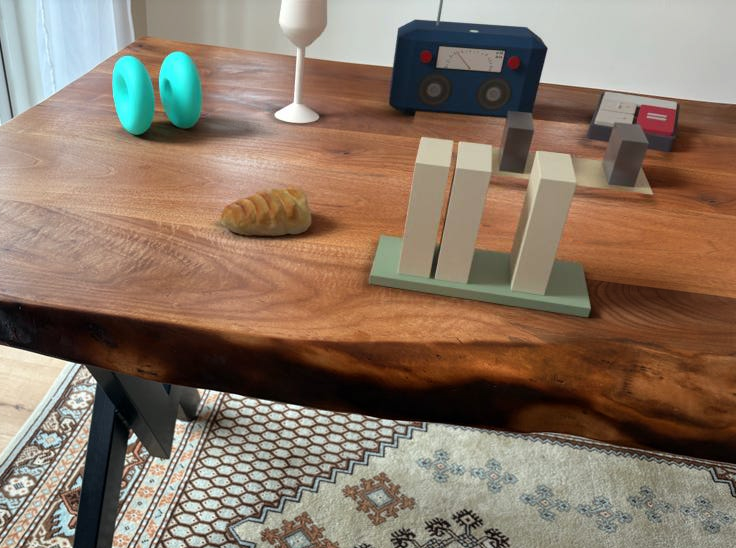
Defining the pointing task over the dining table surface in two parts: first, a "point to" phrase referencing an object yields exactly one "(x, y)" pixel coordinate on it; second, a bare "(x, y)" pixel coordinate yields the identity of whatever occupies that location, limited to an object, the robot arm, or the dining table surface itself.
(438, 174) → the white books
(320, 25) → the champagne flute
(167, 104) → the donuts
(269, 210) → the pastry
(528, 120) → the grey bookends
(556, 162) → the cream book
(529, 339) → the dining table surface
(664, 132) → the calculator
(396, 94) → the radio
